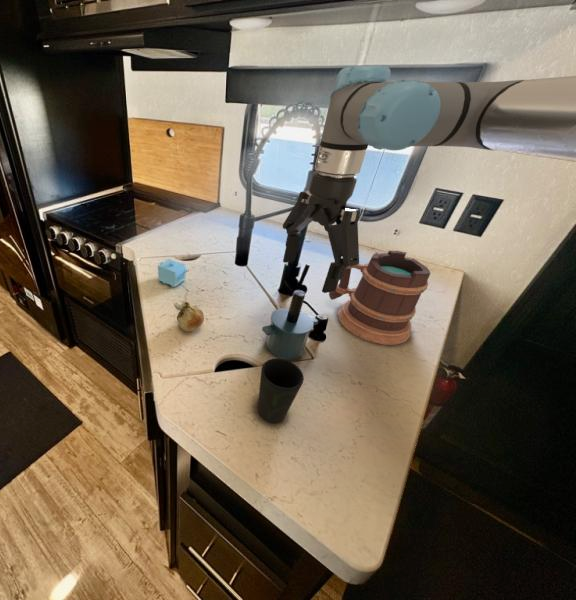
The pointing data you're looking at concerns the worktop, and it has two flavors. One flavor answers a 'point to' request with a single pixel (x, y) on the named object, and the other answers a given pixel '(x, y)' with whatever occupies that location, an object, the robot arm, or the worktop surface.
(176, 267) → the light-blue knobbed box
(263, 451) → the worktop surface
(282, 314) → the lid
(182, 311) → the onion
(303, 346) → the pot
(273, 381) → the cup
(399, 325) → the mug
